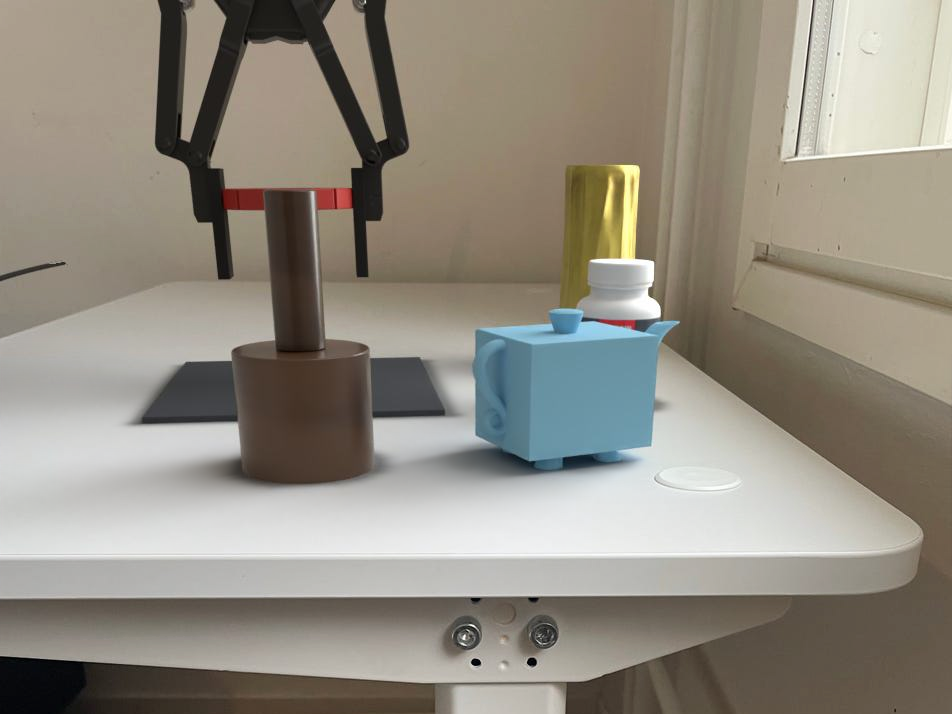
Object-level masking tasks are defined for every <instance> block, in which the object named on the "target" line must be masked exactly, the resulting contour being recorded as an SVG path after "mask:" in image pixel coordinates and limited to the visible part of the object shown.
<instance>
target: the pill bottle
mask: <svg viewBox="0 0 952 714" xmlns="http://www.w3.org/2000/svg"><path fill="white" fill-rule="evenodd" d="M654 276H655V262H654V261H652V260H648V259H638V258H635V259H595V260H590V261H589V265H588V283H587V284H588V285H589V286H591V292H590V295H589V296H586V297H584V298H583V299H581V300H580V301H579V303H578V304H577V307H576V309H578V310H581V311H583V317H582V319H581V322H590V321H595V322H599V323H604V324H608V325H613V326H617V327H622V328H627V329H631V330H635V331H640V332H644V333H645V332H646V330H647V329H648V328H649V327H650V326H651V325H652V324H654V323H657V322H661V306H660V305H659V303H658V302H657V300H655V299H654V298H652V297H650V296H649V288H651V287H653V283H654V280H655V279H654Z"/></svg>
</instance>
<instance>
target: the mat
mask: <svg viewBox="0 0 952 714" xmlns="http://www.w3.org/2000/svg"><path fill="white" fill-rule="evenodd" d="M370 366H371V390H372V413H373V419H374V418H404V417H441V416H443V417H444V416H446V409H445V407H444V405H443V402H442V401H441V398H440V396H439V394H438V392H437V391H436V388H435V386H434V384H433V382H432V380H431V378H430V375H429V374H428V371H427V368H426V367H425V365H424V363H423V360H422V359H421V356H406V357H405V356H404V357H402V356H401V357H396V356H395V357H370ZM219 422H220V423H223V422H226V423H227V422H238V418H237V408H236V398H235V388H234V378H233V367H232V360H207V361H206V360H203V361H198V360H197V361H185V362H184V363H183V364H182V366H181V367H180V369H179V370H177V372H176V374H175V375H174V376H173V377H172V379H171V380H170V381H169V382H168V384H167V385H166V387H164V388H163V390H162V391H161V393H159V395H158V397H156V399H155V400H154V402H152V403H151V405H150V406H149V408H148V409H147V410H146V412H145V413H144V414H143V416H142V417H141V423H142V425H146V424H147V425H148V424H151V425H152V424H180V423H181V424H183V423H184V424H185V423H186V424H188V423H219Z"/></svg>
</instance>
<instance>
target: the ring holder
mask: <svg viewBox="0 0 952 714" xmlns="http://www.w3.org/2000/svg"><path fill="white" fill-rule="evenodd" d="M263 197H264V209H265V211H264V220H265V232H266V245H267V246H266V247H267V257H268V258H267V259H268V270H269V282H270V295H271V309H272V321H273V332H274V340H264V341H256V342H250V343H245V344H242V345H238V346H236V347H235V348H232V350H231V351H230V353H231V354H230V355H231V361H232V367H233V378H234V388H235V398H236V408H237V418H238V421H237V427H238V438H239V447H240V448H239V449H240V456H241V457H240V458H241V459H240V460H241V467H242V472H243V474H245V476H247V477H249V478H252V479H254V480H258V481H262V482H267V483H274V484H284V485H285V484H287V485H310V484H326V483H333V482H340V481H344V480H349V479H354V478H357V477H360V476H363V475H365V474H368V473H369V472H371V471H372V470H373V469H374V468H375V465H376V464H375V463H376V462H375V439H374V418H373V413H372V390H371V366H370V358H371V349H370V347H369V346H368V345H367V344H365V343H361V342H357V341H352V340H344V339H335V338H334V339H332V338H326V323H325V307H324V292H323V291H324V289H323V274H322V257H321V242H320V241H321V240H320V239H321V238H320V225H319V210H318V205H317V191H316V190H300V189H284V190H264V191H263Z"/></svg>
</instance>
